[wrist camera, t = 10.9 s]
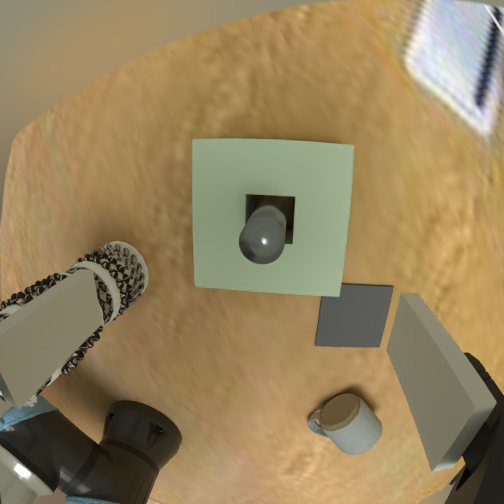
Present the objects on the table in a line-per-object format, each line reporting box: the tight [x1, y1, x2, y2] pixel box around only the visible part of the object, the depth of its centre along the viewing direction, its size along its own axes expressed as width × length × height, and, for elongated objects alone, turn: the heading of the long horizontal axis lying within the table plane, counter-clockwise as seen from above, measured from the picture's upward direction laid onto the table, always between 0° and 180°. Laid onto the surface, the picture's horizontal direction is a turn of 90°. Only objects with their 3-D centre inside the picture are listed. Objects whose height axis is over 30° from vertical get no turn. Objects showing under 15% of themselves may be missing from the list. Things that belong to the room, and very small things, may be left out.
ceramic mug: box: [308, 393, 382, 455], centre depth 39 cm, size 11×8×8 cm
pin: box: [239, 195, 287, 264], centre depth 28 cm, size 3×3×14 cm
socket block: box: [192, 139, 354, 297], centre depth 32 cm, size 15×15×6 cm
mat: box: [315, 283, 394, 347], centre depth 37 cm, size 9×9×1 cm
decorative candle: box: [0, 241, 149, 407], centre depth 28 cm, size 9×9×25 cm
